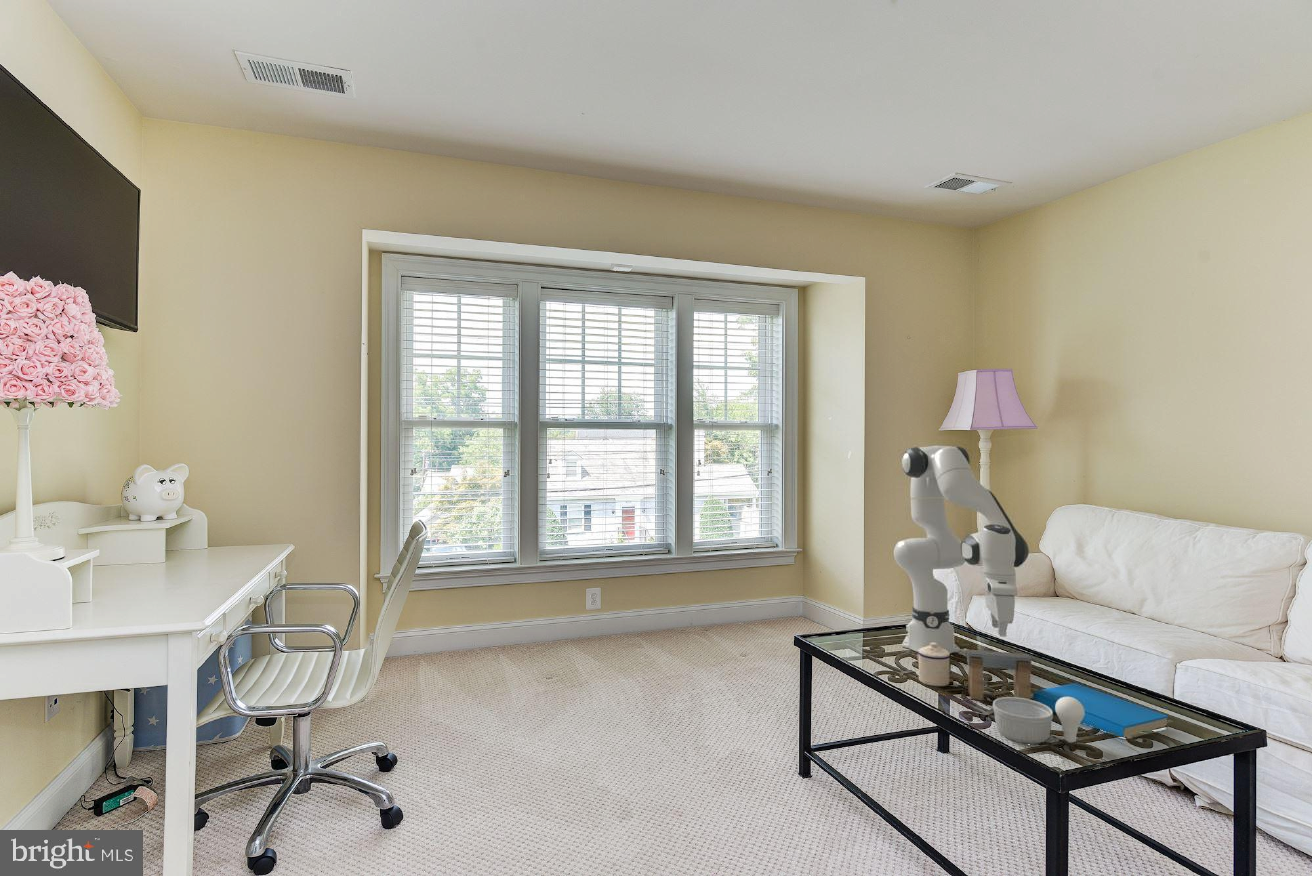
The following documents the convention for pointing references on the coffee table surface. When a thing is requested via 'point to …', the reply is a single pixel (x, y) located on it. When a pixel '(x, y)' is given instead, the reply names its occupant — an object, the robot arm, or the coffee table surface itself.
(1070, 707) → the lightbulb
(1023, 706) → the ramekin
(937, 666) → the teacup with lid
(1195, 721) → the coffee table surface
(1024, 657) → the rail
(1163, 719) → the book
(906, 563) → the robot arm
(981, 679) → the post
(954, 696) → the coffee table surface
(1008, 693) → the coffee table surface
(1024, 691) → the post
